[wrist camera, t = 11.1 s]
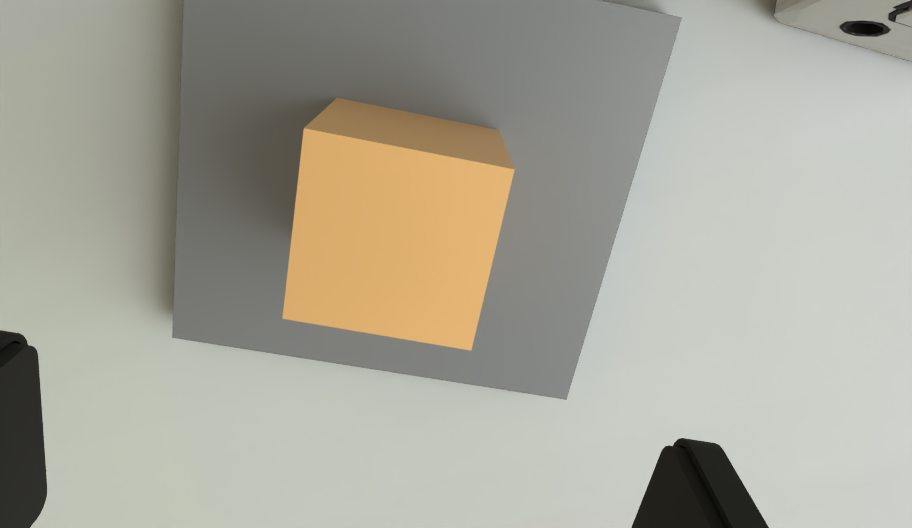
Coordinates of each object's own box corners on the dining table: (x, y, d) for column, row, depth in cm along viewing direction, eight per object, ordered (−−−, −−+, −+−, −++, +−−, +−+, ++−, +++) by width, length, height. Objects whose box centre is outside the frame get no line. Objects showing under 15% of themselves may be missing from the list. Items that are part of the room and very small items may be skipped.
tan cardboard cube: (337, 97, 24) (303, 128, 18) (498, 130, 24) (514, 169, 18) (317, 249, 26) (282, 318, 20) (465, 276, 26) (471, 350, 21)
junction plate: (202, -83, 23) (114, -113, 17) (668, 16, 24) (742, 22, 18) (185, 321, 28) (115, 407, 22) (560, 381, 30) (589, 477, 24)
